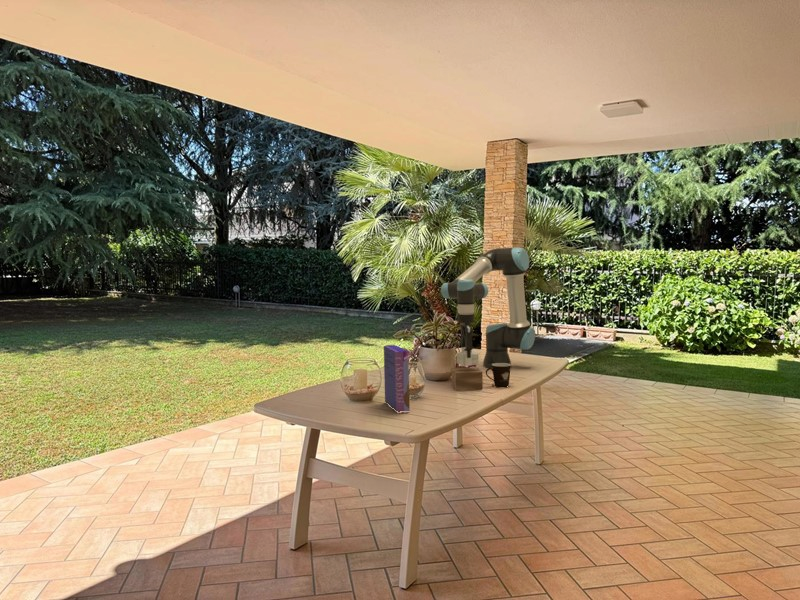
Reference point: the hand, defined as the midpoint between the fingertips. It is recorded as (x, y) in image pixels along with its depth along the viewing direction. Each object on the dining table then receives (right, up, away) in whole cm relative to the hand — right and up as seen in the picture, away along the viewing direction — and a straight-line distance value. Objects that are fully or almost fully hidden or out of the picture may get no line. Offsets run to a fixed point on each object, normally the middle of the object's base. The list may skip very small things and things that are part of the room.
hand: (466, 362), depth 254 cm
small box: (0, -1, 0) cm, 1 cm away
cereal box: (-32, -14, -32) cm, 47 cm away
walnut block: (0, -11, +1) cm, 11 cm away
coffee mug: (+15, -11, +2) cm, 19 cm away
